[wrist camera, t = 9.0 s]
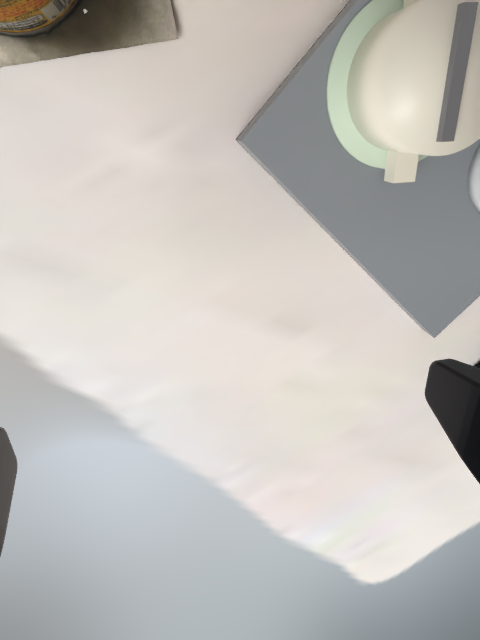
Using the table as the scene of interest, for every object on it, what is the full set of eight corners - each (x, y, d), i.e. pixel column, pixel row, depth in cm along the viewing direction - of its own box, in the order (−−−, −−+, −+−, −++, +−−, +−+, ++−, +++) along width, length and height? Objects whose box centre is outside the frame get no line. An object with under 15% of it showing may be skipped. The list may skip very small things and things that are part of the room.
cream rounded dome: (443, 176, 19) (498, 186, 16) (340, 183, 18) (377, 196, 15) (479, -32, 15) (557, -69, 12) (354, -34, 15) (405, -72, 12)
